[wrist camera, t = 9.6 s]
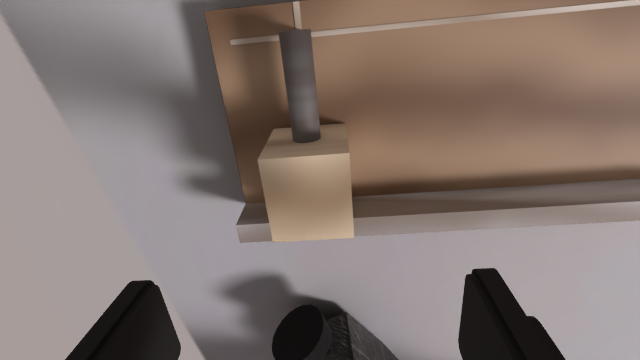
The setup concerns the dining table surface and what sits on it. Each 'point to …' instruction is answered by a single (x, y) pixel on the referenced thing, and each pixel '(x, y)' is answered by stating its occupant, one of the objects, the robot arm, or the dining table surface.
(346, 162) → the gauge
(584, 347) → the dining table surface
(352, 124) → the board
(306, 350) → the hammer
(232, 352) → the dining table surface
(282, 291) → the dining table surface
